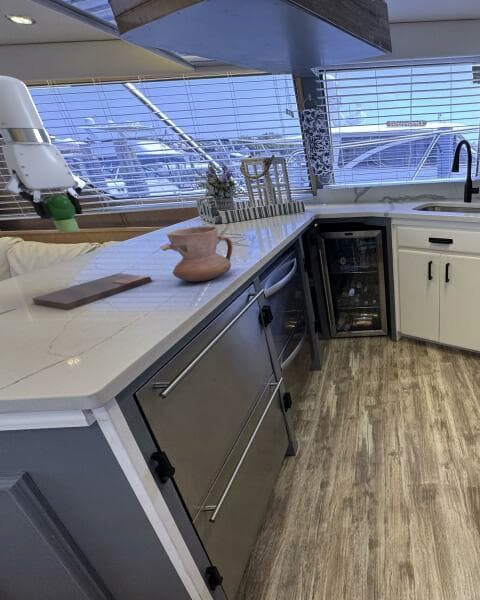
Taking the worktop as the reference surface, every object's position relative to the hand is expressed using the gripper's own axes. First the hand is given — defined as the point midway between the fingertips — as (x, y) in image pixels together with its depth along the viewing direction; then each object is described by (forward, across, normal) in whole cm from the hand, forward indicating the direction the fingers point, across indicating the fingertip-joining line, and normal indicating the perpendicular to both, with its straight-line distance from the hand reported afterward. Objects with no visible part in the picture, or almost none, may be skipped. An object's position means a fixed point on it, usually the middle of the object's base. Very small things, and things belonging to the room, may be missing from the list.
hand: (62, 215), depth 83 cm
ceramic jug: (+20, -14, +27) cm, 36 cm away
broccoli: (+4, 0, 0) cm, 4 cm away
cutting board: (+20, +2, +5) cm, 21 cm away
